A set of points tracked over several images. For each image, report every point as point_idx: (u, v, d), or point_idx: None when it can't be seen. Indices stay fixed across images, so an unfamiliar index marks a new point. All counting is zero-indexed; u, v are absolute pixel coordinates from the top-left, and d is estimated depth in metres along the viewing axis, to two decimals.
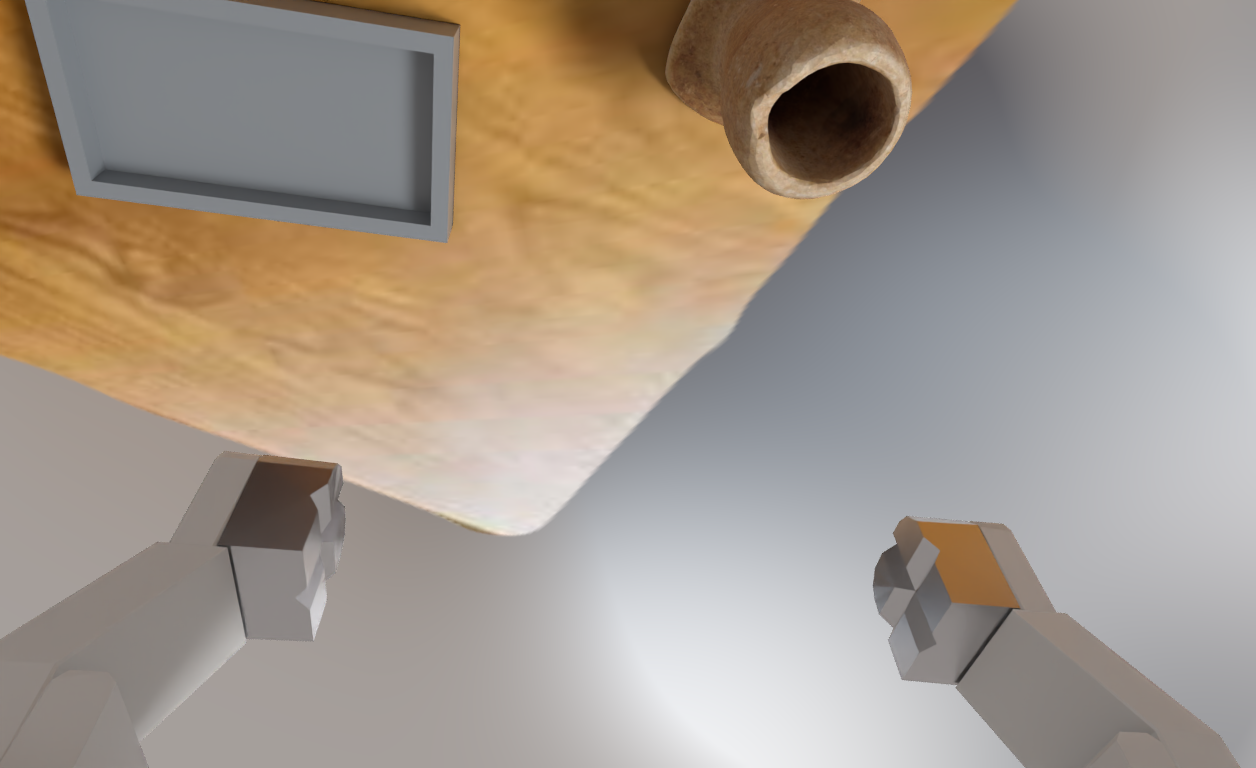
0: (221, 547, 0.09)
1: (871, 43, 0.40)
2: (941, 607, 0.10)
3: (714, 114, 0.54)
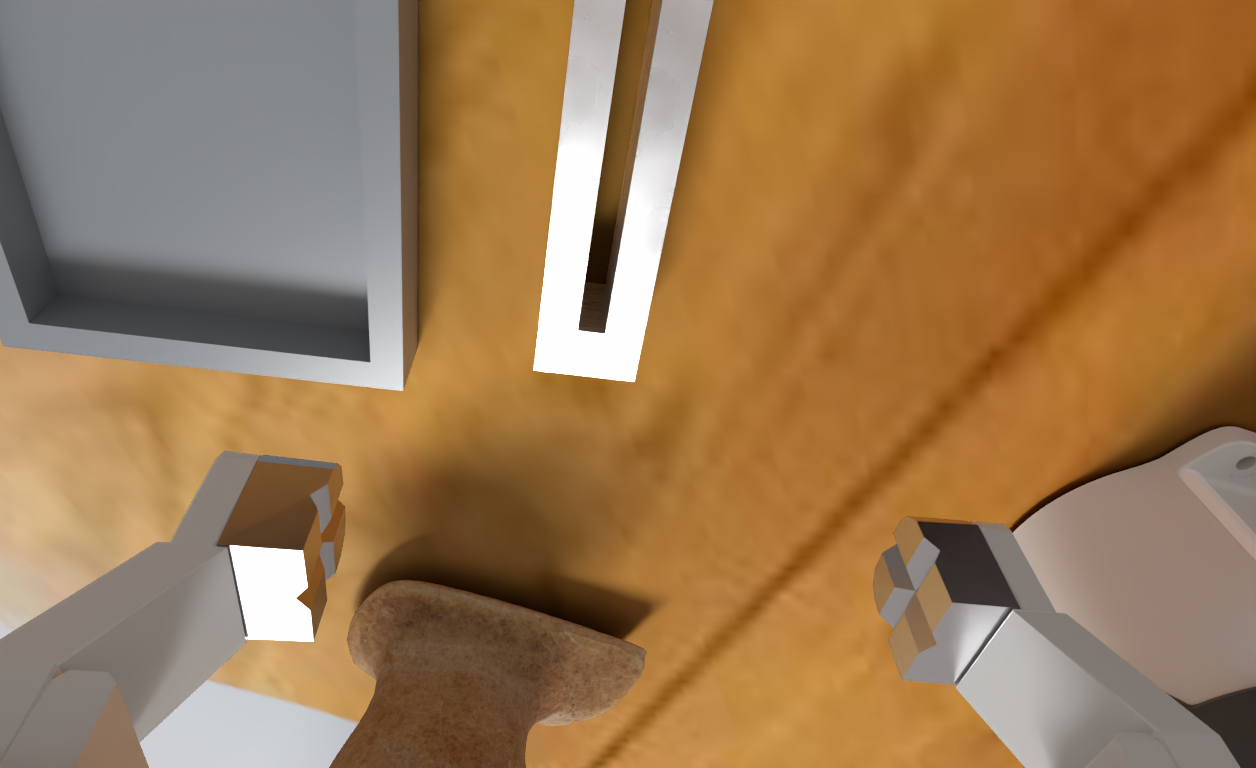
0: (221, 547, 0.09)
1: None
2: (941, 607, 0.10)
3: (360, 631, 0.42)
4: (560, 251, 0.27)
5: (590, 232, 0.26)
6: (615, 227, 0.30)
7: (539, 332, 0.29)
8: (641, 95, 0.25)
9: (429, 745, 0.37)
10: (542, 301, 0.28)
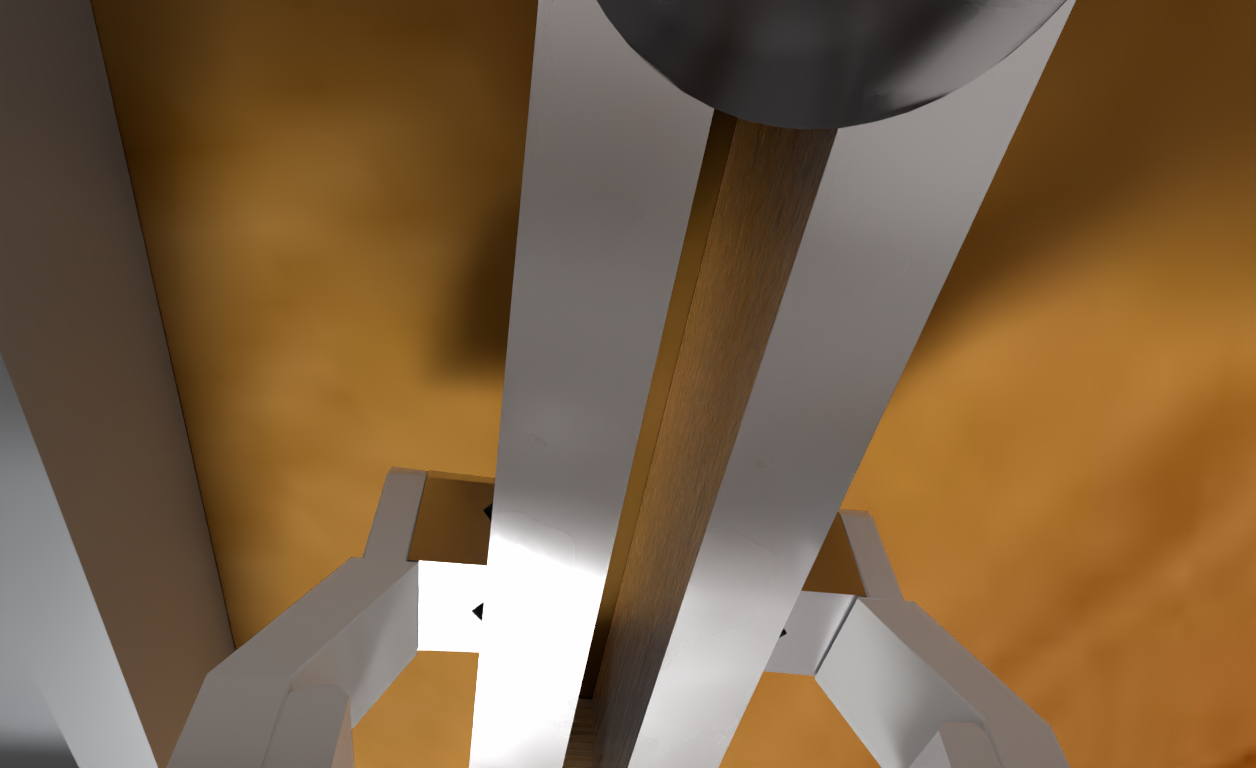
0: (412, 562, 0.09)
1: None
2: None
3: None
4: None
5: (559, 766, 0.12)
6: (610, 637, 0.16)
7: None
8: (672, 505, 0.11)
9: None
10: None
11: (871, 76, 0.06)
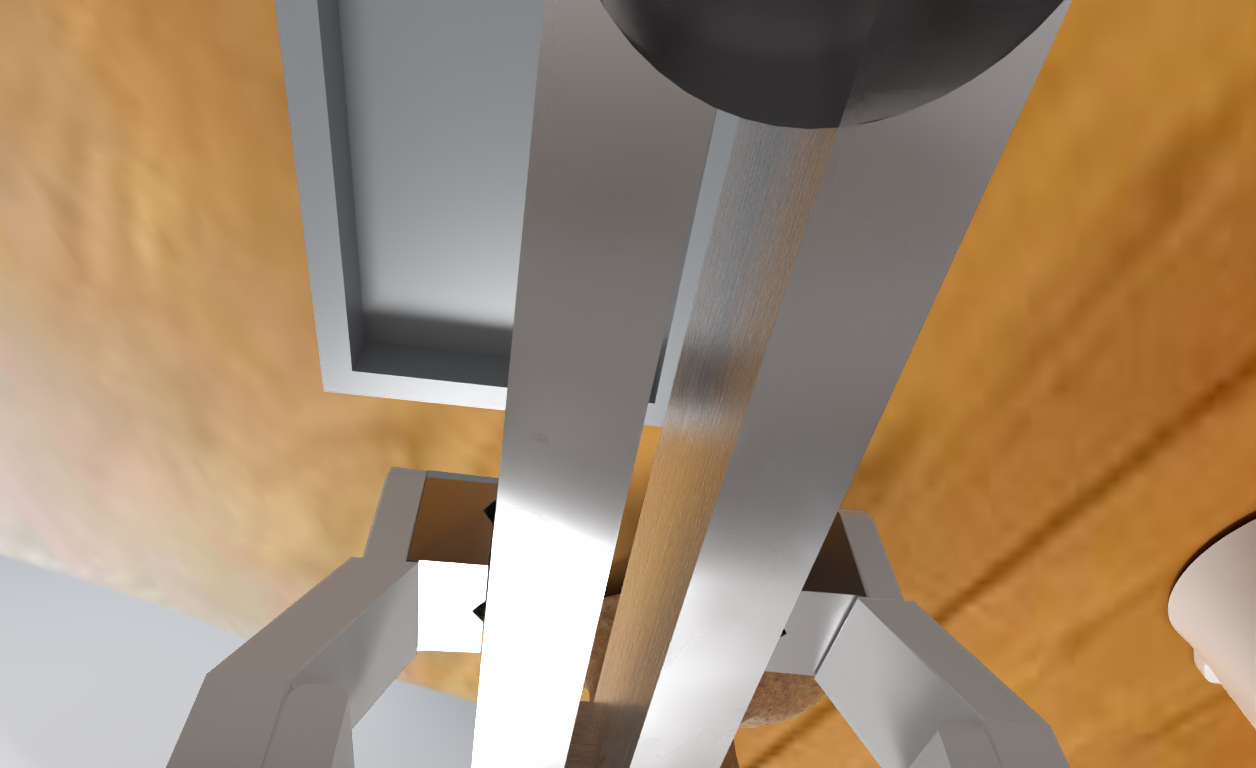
0: (412, 562, 0.09)
1: None
2: None
3: None
4: None
5: (561, 766, 0.12)
6: (612, 639, 0.16)
7: None
8: (673, 505, 0.11)
9: None
10: None
11: (870, 76, 0.06)
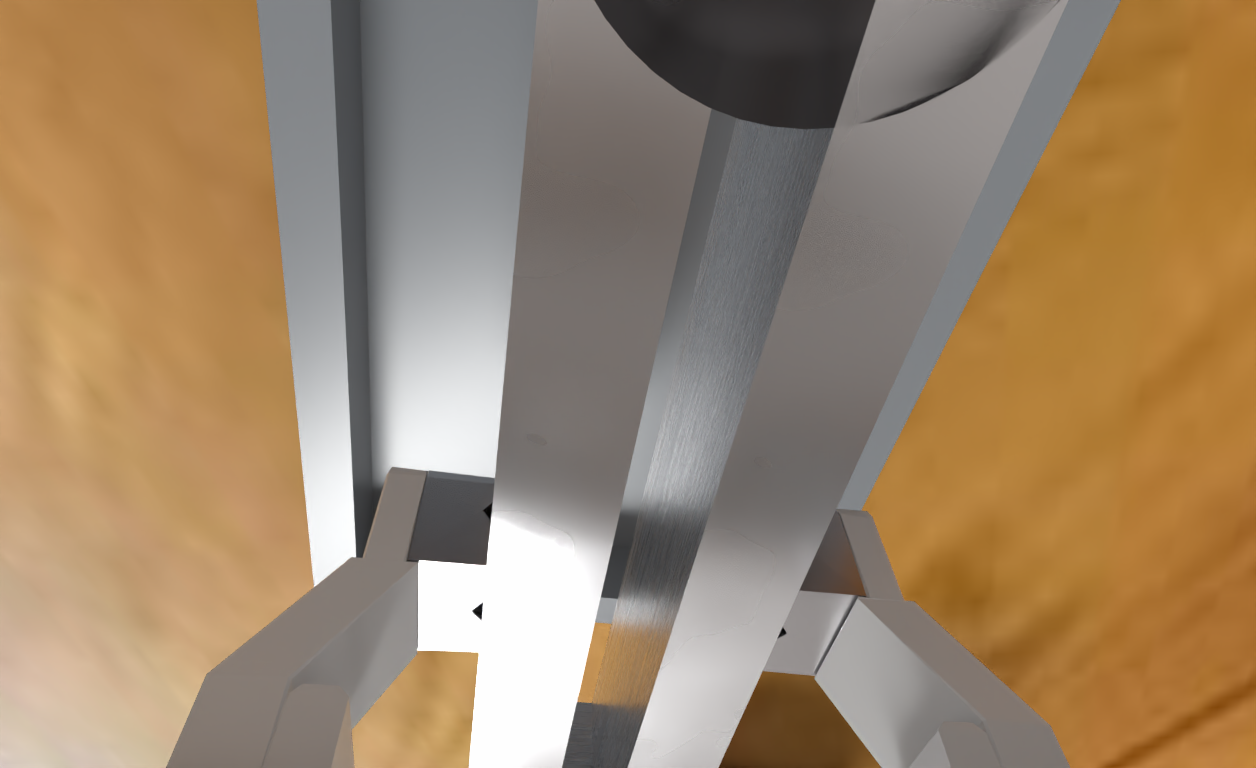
0: (412, 562, 0.09)
1: None
2: None
3: None
4: None
5: None
6: (610, 640, 0.16)
7: None
8: (671, 506, 0.11)
9: None
10: None
11: (866, 76, 0.06)
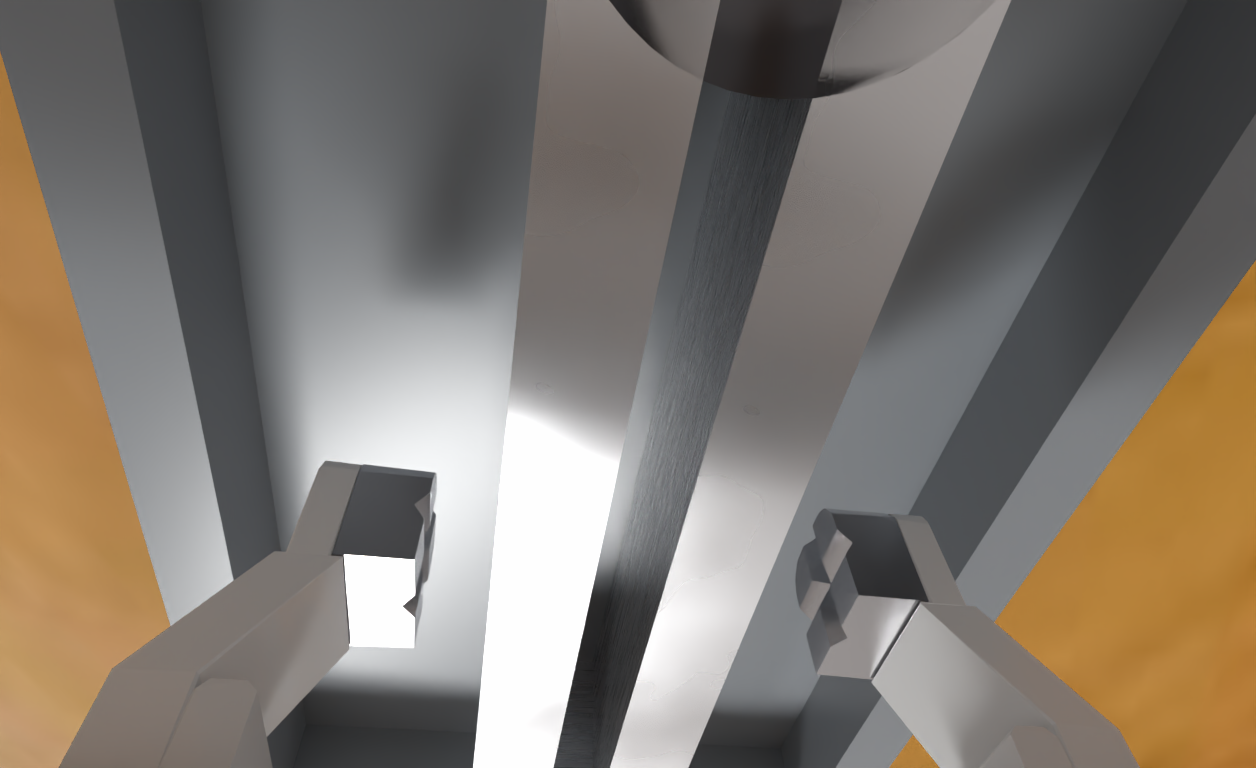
0: (336, 556, 0.09)
1: None
2: (850, 600, 0.10)
3: None
4: (504, 734, 0.13)
5: (563, 710, 0.13)
6: (610, 599, 0.17)
7: None
8: (668, 462, 0.12)
9: None
10: None
11: (840, 52, 0.07)
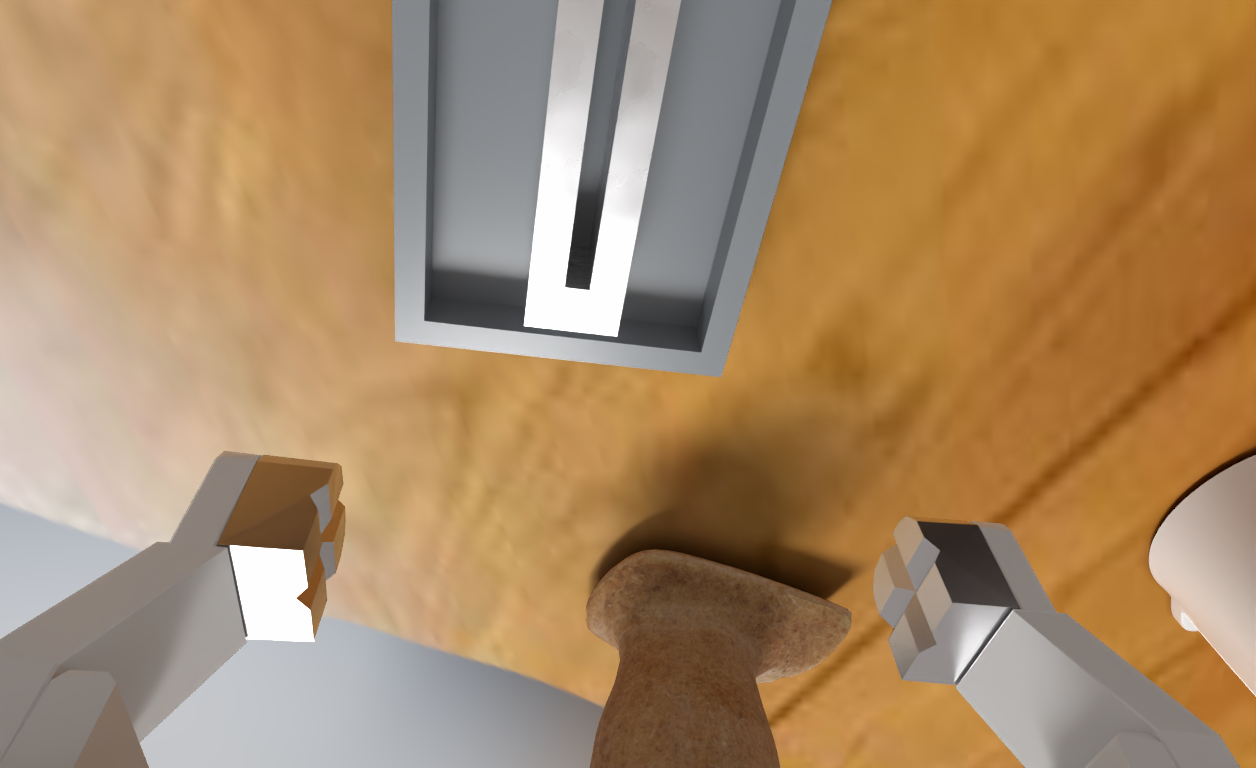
0: (221, 547, 0.09)
1: None
2: (941, 607, 0.10)
3: (606, 597, 0.47)
4: (548, 211, 0.29)
5: (576, 193, 0.29)
6: (598, 193, 0.32)
7: (529, 289, 0.31)
8: (621, 67, 0.28)
9: (701, 690, 0.42)
10: (532, 259, 0.30)
11: None
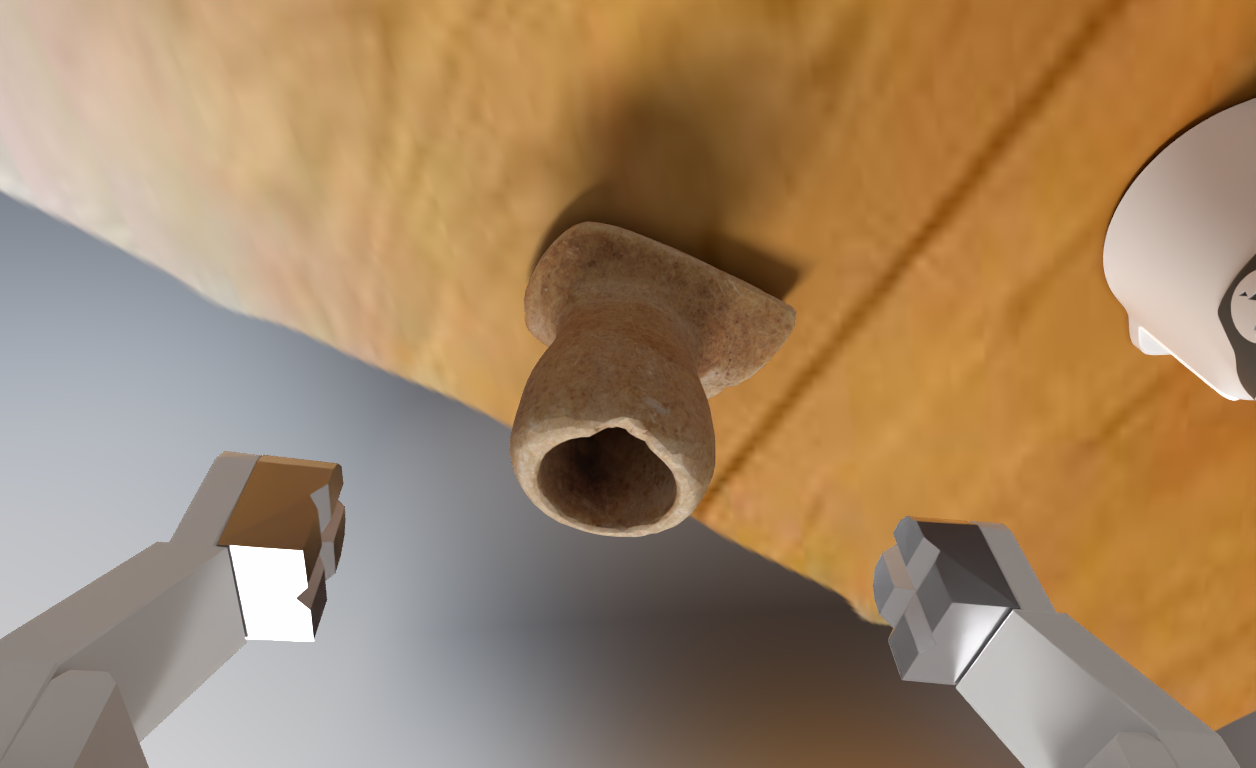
0: (221, 547, 0.09)
1: (695, 506, 0.40)
2: (941, 607, 0.10)
3: (542, 280, 0.46)
4: None
5: None
6: None
7: None
8: None
9: (630, 335, 0.41)
10: None
11: None
